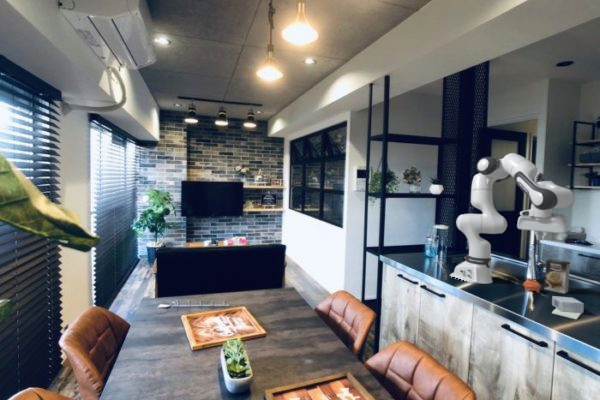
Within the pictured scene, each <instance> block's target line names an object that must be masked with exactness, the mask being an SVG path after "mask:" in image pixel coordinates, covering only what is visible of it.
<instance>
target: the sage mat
mask: <svg viewBox="0 0 600 400" xmlns="http://www.w3.org/2000/svg"><path fill="white" fill-rule="evenodd" d="M551 314H554V315H558V316H561V317H566V318H569V319H572V320H573V319H574V320H578V319H579V317H580V316H581V315H582V314H583V313H578V312H564V311H560V310H559V309H557V308H556V307H555V309H553V311H552V312H551Z"/></svg>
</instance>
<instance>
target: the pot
mask: <svg viewBox="0 0 600 400" xmlns="http://www.w3.org/2000/svg"><path fill="white" fill-rule="evenodd" d="M522 284H523V286H524V289H525V291H526V292H528V291H533V292H534V291H535V292H536V294H538V293H539V292H540V289H541V288H542V285H541V284H540V283H539V282H538V281H537V280H536V279H531V278H529V279H527V280H526V281H524V282H523V283H522Z"/></svg>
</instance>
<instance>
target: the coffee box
mask: <svg viewBox="0 0 600 400" xmlns="http://www.w3.org/2000/svg"><path fill="white" fill-rule="evenodd" d="M545 261H546V263H545V277H544V290H546V291H551V292H555V293H559V294H567V293H568V292H569V280H570V268H571V267H570V266H571V262H570V261H565V260H559V259H553V258H548V259H546V260H545Z"/></svg>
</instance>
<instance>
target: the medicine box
mask: <svg viewBox="0 0 600 400" xmlns="http://www.w3.org/2000/svg"><path fill="white" fill-rule="evenodd" d="M551 305H552V307H555V309H556V308H557V309H559V310H560V311H564V312H578V313H582V314H584V308H585V304H584V302H582V301H580V300H579V299H576V298H574V297H572V296H558V295H557V296H556V295H552V298H551Z"/></svg>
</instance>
